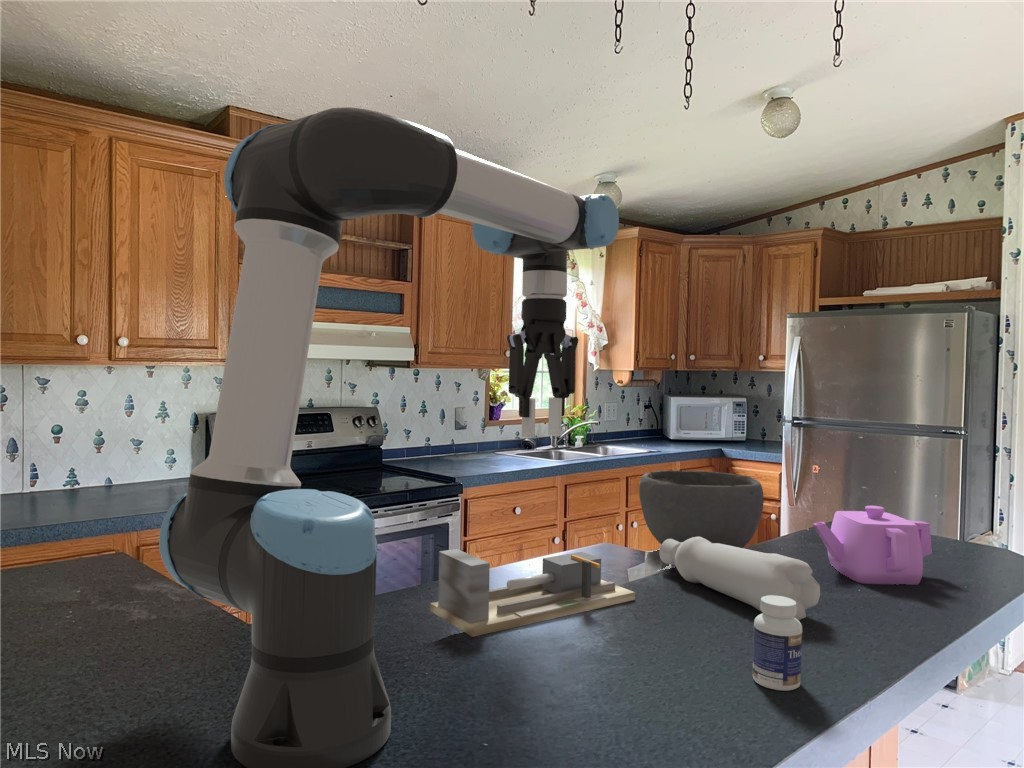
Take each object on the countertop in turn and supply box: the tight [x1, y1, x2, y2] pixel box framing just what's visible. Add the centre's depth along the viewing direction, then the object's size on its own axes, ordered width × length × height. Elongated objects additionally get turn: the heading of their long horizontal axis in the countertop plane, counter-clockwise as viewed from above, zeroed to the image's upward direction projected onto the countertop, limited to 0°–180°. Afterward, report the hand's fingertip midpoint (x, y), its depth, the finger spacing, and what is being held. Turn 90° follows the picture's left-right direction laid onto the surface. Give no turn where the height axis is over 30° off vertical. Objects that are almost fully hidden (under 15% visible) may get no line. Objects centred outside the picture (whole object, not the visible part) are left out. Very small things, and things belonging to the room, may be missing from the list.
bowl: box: [638, 469, 765, 548], centre depth 148 cm, size 24×24×15 cm
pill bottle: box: [752, 595, 803, 692], centre depth 87 cm, size 5×5×10 cm
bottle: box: [658, 537, 821, 621], centre depth 120 cm, size 9×9×30 cm
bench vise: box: [429, 548, 636, 638], centre depth 113 cm, size 12×30×9 cm, turn 125°
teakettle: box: [812, 505, 933, 586], centre depth 134 cm, size 17×17×12 cm
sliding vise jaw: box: [506, 551, 602, 593], centre depth 113 cm, size 9×16×5 cm, turn 125°
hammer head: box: [582, 560, 591, 598], centre depth 112 cm, size 1×1×5 cm
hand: (541, 436), depth 125 cm, fingers open, 5 cm apart
